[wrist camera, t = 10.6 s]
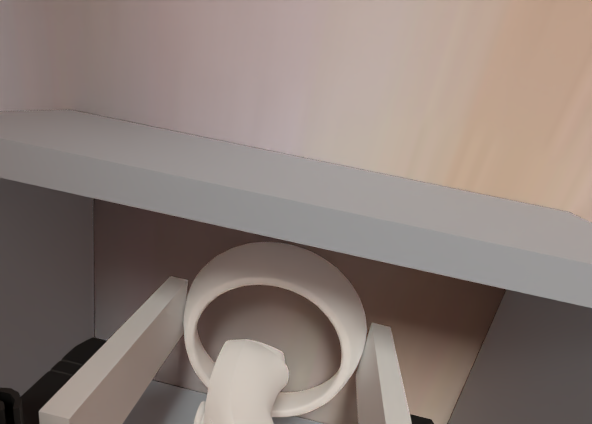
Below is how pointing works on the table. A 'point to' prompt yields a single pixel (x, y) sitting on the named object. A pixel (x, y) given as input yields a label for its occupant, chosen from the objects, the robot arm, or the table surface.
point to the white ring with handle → (261, 357)
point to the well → (295, 228)
